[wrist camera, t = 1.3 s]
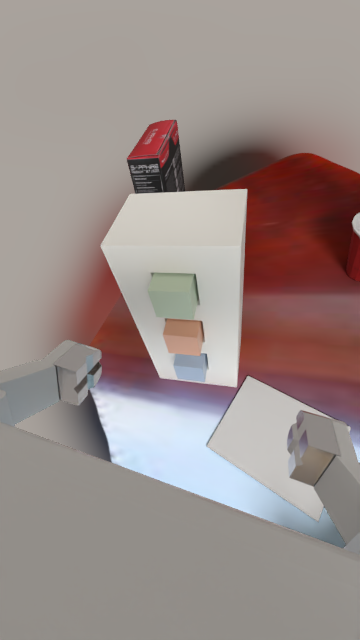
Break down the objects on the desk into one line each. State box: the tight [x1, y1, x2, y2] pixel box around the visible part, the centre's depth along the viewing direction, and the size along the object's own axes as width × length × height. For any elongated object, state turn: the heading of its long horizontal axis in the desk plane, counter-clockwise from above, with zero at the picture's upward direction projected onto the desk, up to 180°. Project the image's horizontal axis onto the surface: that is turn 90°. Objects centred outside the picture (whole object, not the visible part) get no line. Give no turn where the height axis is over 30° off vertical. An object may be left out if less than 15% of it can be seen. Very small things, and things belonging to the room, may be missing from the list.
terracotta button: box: [163, 318, 204, 356], centre depth 38 cm, size 5×4×4 cm
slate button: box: [173, 353, 208, 382], centre depth 44 cm, size 5×4×4 cm
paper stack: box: [207, 376, 351, 522], centre depth 43 cm, size 23×25×1 cm
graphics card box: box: [127, 120, 185, 194], centre depth 63 cm, size 17×7×27 cm, turn 170°
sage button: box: [148, 273, 199, 320], centre depth 31 cm, size 5×4×4 cm
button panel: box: [101, 189, 247, 387], centre depth 41 cm, size 10×14×30 cm
